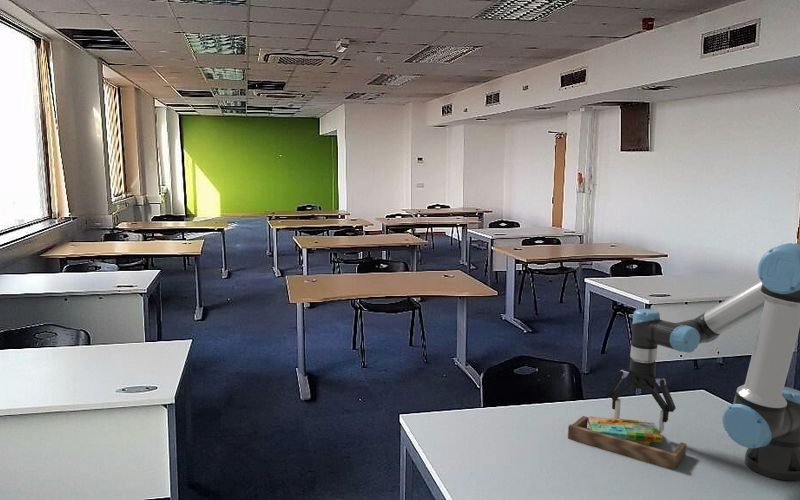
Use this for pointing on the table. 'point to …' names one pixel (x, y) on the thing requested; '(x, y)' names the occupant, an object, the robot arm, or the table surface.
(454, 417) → the table surface
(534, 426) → the table surface
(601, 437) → the frame
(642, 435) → the puzzle game
